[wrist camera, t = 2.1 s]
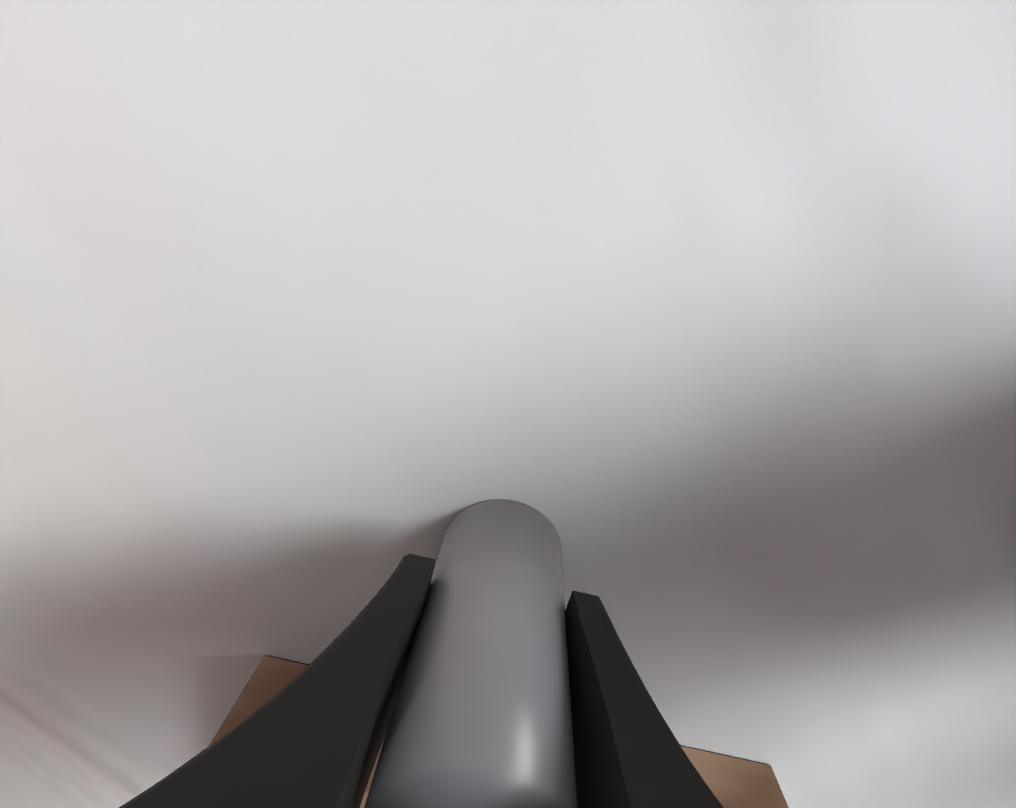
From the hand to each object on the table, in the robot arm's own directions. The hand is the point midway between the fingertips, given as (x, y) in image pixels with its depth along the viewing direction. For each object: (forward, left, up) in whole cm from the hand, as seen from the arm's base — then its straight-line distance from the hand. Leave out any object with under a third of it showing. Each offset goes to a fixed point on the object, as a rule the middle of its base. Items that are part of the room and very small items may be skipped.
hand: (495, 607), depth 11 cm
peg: (0, 0, -2) cm, 2 cm away
